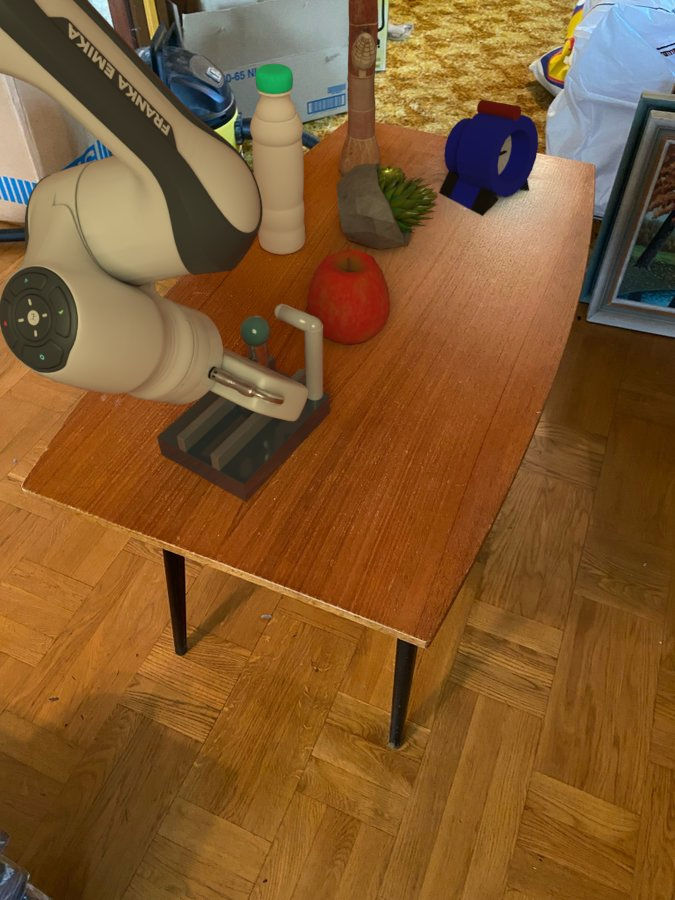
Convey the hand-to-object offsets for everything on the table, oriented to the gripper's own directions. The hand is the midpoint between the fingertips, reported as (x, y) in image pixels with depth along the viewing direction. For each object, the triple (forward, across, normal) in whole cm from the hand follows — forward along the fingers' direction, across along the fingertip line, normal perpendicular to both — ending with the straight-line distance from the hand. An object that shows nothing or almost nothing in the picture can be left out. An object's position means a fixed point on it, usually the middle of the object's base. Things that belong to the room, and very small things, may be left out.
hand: (248, 373), depth 76 cm
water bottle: (+30, +20, -17) cm, 40 cm away
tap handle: (+5, 0, +3) cm, 6 cm away
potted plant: (+37, +8, -24) cm, 45 cm away
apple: (+22, +1, -9) cm, 24 cm away
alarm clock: (+52, +2, -40) cm, 66 cm away
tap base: (+5, 0, +7) cm, 9 cm away
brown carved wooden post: (+47, +22, -35) cm, 63 cm away
